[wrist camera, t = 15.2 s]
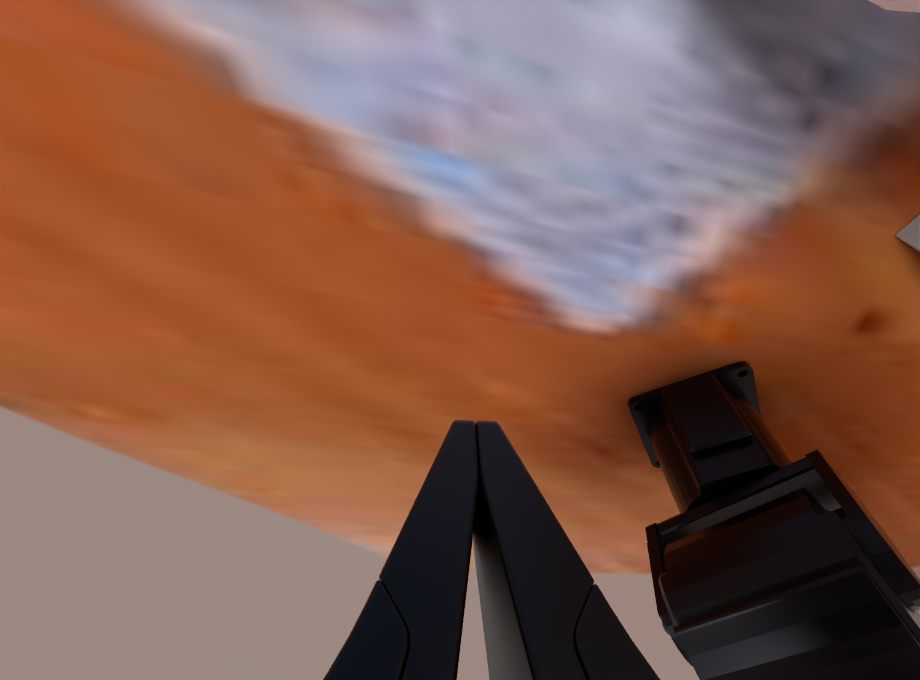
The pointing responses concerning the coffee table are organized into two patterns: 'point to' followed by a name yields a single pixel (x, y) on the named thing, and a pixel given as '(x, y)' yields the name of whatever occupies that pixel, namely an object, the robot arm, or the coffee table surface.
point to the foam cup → (899, 5)
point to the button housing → (911, 234)
